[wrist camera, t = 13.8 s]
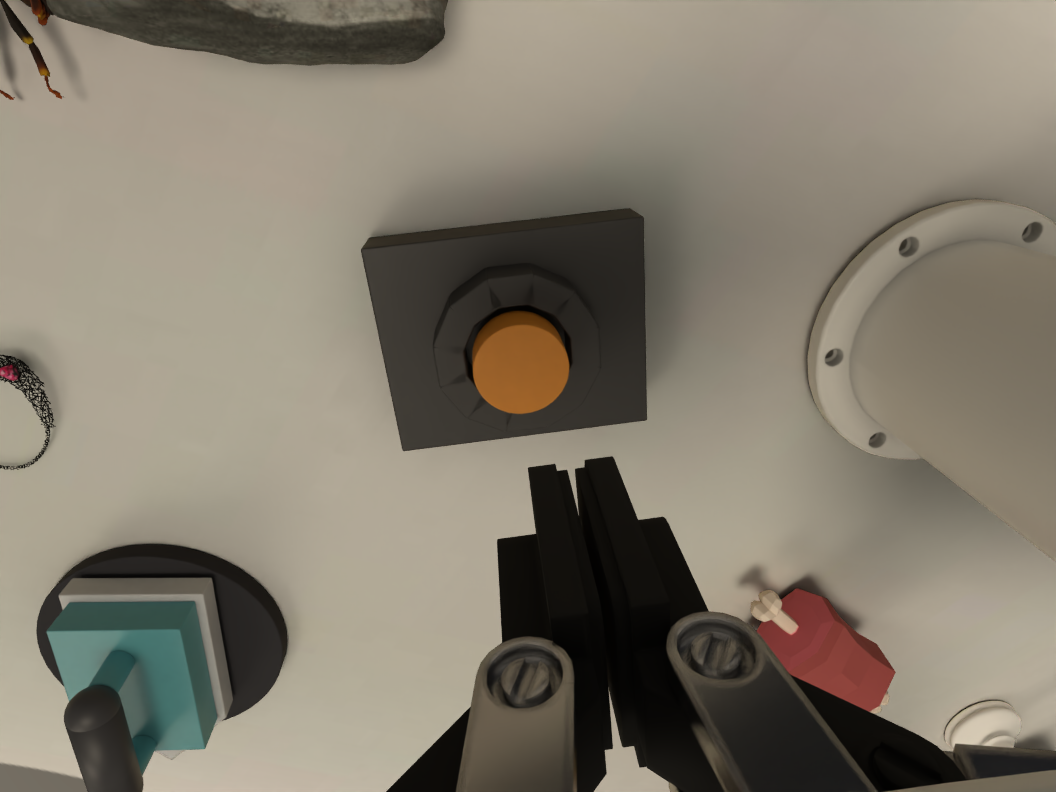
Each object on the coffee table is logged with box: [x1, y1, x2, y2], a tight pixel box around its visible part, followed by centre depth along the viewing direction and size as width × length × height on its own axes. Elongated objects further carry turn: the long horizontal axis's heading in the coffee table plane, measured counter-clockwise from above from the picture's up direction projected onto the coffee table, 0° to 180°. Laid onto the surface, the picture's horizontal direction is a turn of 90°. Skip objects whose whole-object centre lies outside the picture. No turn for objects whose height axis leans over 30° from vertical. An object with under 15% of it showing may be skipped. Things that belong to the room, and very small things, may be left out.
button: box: [472, 311, 569, 414], centre depth 24 cm, size 4×4×2 cm
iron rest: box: [37, 545, 287, 721], centre depth 33 cm, size 12×12×1 cm
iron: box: [47, 578, 233, 792], centre depth 30 cm, size 12×6×6 cm, turn 176°
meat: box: [750, 588, 895, 713], centre depth 36 cm, size 12×5×5 cm
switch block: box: [361, 208, 647, 451], centre depth 26 cm, size 11×9×4 cm
